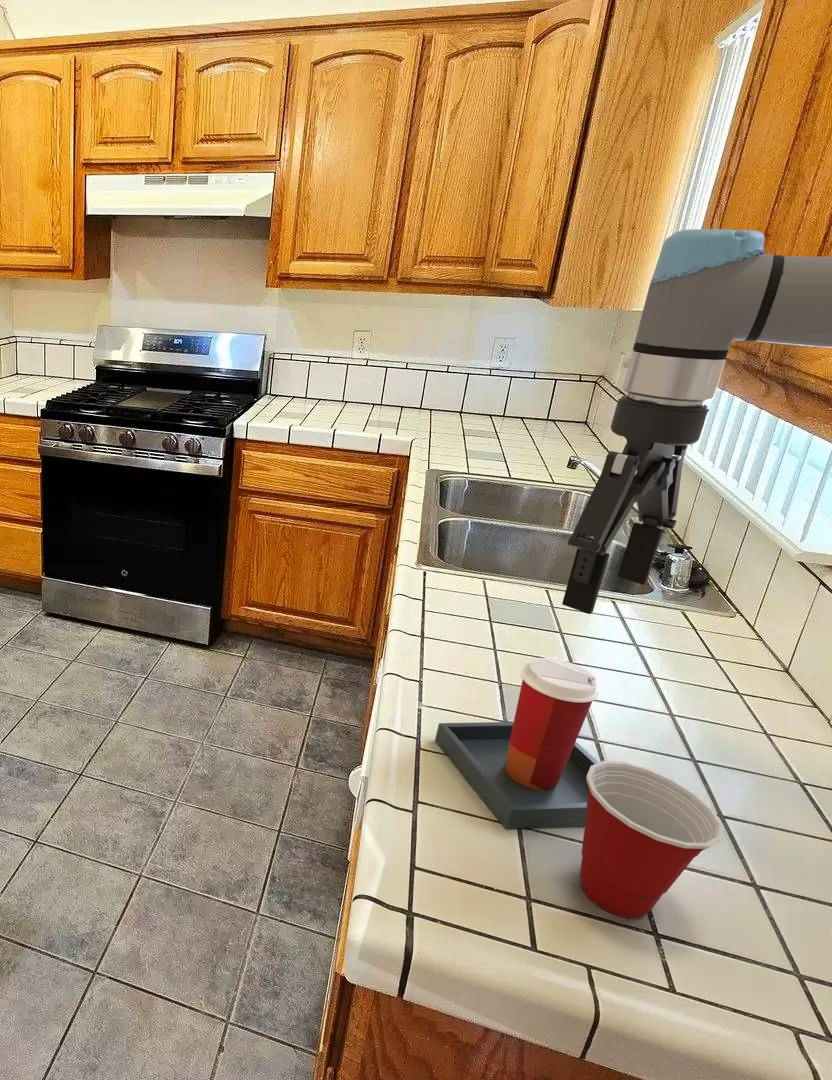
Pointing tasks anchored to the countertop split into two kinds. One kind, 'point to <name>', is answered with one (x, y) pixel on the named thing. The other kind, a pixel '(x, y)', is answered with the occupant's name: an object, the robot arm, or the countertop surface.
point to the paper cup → (548, 720)
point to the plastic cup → (639, 836)
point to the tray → (512, 803)
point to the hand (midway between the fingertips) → (605, 594)
